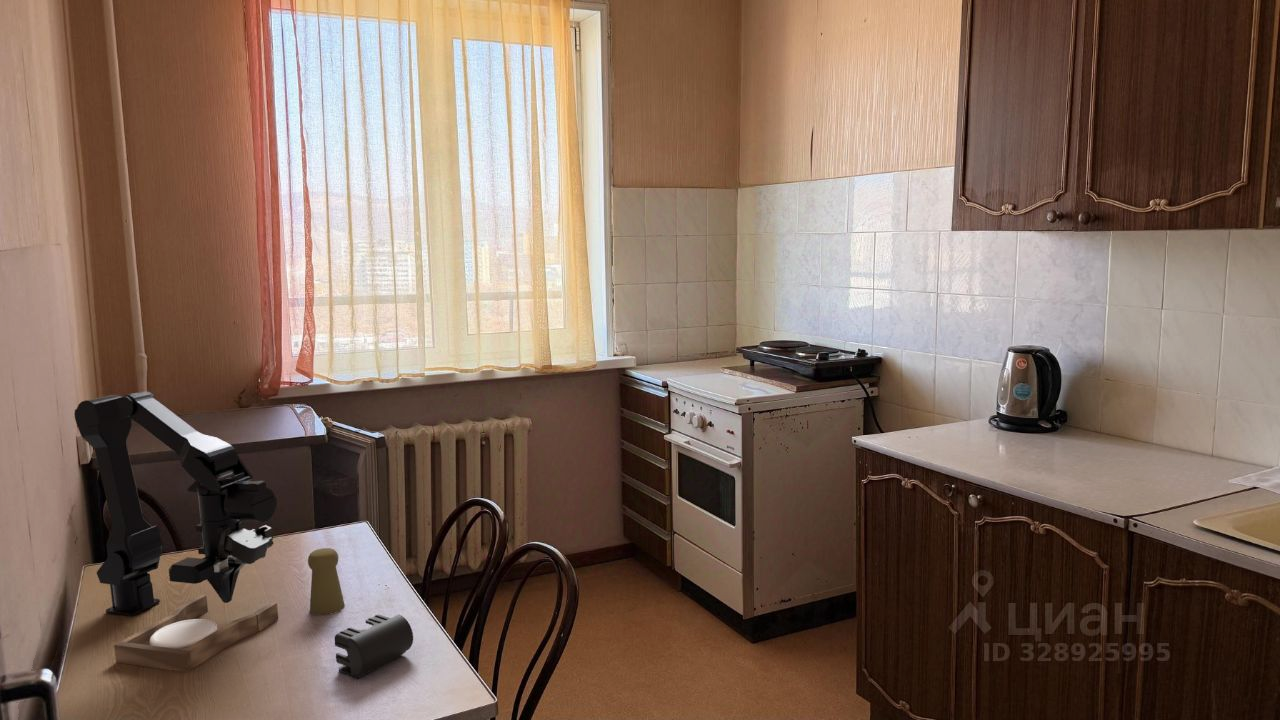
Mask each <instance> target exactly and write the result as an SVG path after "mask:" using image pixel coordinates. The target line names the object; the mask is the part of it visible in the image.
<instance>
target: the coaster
mask: <svg viewBox="0 0 1280 720" xmlns="http://www.w3.org/2000/svg"><path fill="white" fill-rule="evenodd" d="M217 630H218V625H217V623H216V622H214V621H212V620H211V619H206V618H195V619H191V620H184V621H180V622H176V623H173V624H170V625H167V626H165V627H163V628H161V629H159V630H158V631H156V632H155V633H154V634H153V635H152V636H151V638H150V644H151V646H158V647H166V648H174V649H181V650H185V649H186V648H188V647H190V646H192V645H193V644H195V643H197V642H198V641H200V640H202V639H203V638H205V637H207V636H208V635H210V634H212V633H213V632H215V631H217Z"/></svg>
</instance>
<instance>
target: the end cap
mask: <svg viewBox="0 0 1280 720" xmlns="http://www.w3.org/2000/svg"><path fill="white" fill-rule="evenodd" d="M365 624H367V625H371V626H372V627H370V628H369V627H368V628H366V629H357V628H354V627H347V628H346V629H344V630H341V631H340V632H338V633H336V634H335V635H334V646H335V647H336V648H337V647H338V648H340V649H343V650H345V652H346V653H347V655H345V654H343V653H340V652H336V653H335V661H336V663H337V664H340V665H341V666H339V667H338V673H340V674H342V675H344V676H347V677H350V678H352V679H359V678H361V677H362V676H364V675H366V674H368V673H370V672H372V671H373V670H375V669H378V668H380V667H381V666H382V667H383V666H384V665H385V664H388V663H389V662H391V661H393V660H395V659H396V658H399V657H400V656H402V655H403V654H405V653H406V652H407V651H409V650H411V648H412V645H413V643H414V634H413V633H414V632H413V629H412V627H411V624H410V623H409V621H408V620H407V619H406V618H405V616H403V615H401V614H396V615H394V616H392V617H388V616H385V615H381V614H376V615H374V616H372V617H369V618H368V619H366V620H365Z"/></svg>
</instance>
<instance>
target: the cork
mask: <svg viewBox="0 0 1280 720" xmlns="http://www.w3.org/2000/svg"><path fill="white" fill-rule="evenodd" d="M338 564H339V554H338V552H337V551H336V550H335V549H333V548H331V547H325V548H318V549H315V550H313V551H312V552H311V553H309V555H308V559H307V565H308V567H309V568H310V569H311V581H310V582H311V583H310V584H311V585H310V597H309V598H310V601H309V613H310V614H312V615H314V616H327V615H328V616H329V615H333V614H336V613H338V612H340V611H342V610H343V609H345V606H346V604H345V600H344V596H343V591H342V588H341V583H340V579H339V573H338V569H337V565H338Z"/></svg>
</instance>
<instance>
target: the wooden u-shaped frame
mask: <svg viewBox="0 0 1280 720" xmlns="http://www.w3.org/2000/svg"><path fill="white" fill-rule="evenodd" d="M278 610H279V609H278V602H269V603H268V604H266V605H265V606H262V607H261V608H260V609H258V610H256V611H255V612H253V613H251V614H248V615H245V616H243V617H239V618H238V619H234V620H232V621H230V622H228V623H227V624H225V625H224V626H221V627H219V628H218V629H217V631H215V632H213V633H212V634H210V635H208V636H207V637H205V638H203V639H202V640H200V641H198V642H197V643H195V644H193V645H192V646H190V647H188V648H186V649H185V650H181V649H174V648H166V647H158V646H151V644H150V638H151V636H152V635H153V634H154V633H155V632H156V631H158V630H159V629H161V628H163V627H165V626H167V625H170V624H173V623H176V622H180V621H184V620H191V619H197V618H199V617H200V616H202V615H203V614H205V613H207V612H208V611H209V607H208V597H207V595H206V594H200V595H198V596H196V597H193V598H192V599H190V600H189V601H186V602H185V603H183V604H181V605H179V606H178V607H177V608H176V609H175V610H174V611H173V612H172V613H171V614H169V615H167V616H166V617H163V618H162V619H159V620H158V621H156V622H154V623H152V624H150V625H148V626H147V627H144V628H143V629H141V630H139V631H137V632H135V633H134V634H132V635H130V636H129V637H127V638H124V639H123V640H121V641H119V642H117V643H114V644H113V647H114V649H113V650H114V656H115V663H116V664H117V663H118V664H125V665H130V666H131V665H132V666H138V667H139V666H140V667H146V668H153V669H161V670H168V671H175V672H180V673H181V672H183V673H188V672H189V671H191V670H193V669H194V668H196V667H197V666H198V665H200V664H202V663H204V662H206V661H207V660H208V659H210V658H212V657H213V656H215V655H217V654H218V653H220V652H221V651H223V650H225V649H226V648H228V647H229V646H230V645H232V644H234V643H235V642H238V640H240V639H243V638H245V637H249V636H251V635H253V634H256V633H258V632H260V631H262V630H263V629H265V628H266V627H268V626H270V625H271V624H273V623H274V622H276V621H277V620H279V611H278Z"/></svg>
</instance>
